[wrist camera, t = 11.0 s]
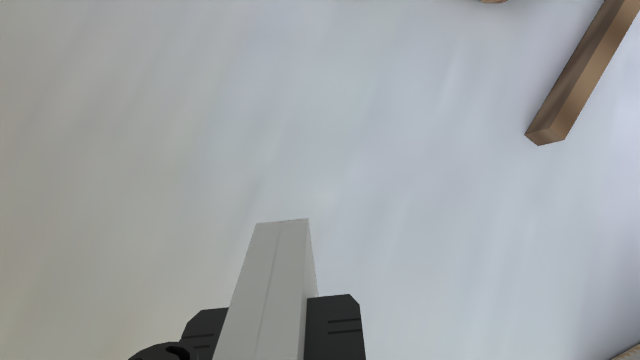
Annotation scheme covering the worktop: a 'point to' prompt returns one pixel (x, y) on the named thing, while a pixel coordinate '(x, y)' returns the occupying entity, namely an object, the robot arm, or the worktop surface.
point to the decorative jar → (630, 354)
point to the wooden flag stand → (582, 72)
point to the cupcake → (493, 1)
